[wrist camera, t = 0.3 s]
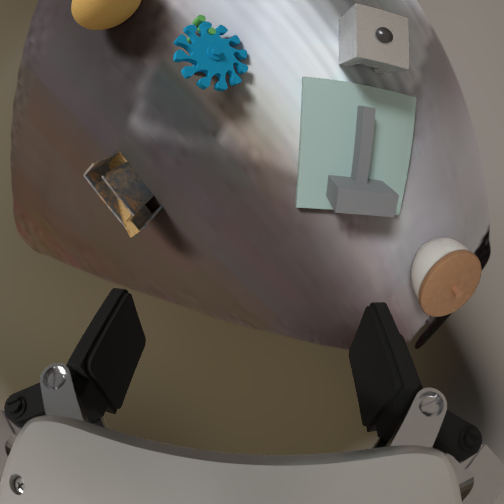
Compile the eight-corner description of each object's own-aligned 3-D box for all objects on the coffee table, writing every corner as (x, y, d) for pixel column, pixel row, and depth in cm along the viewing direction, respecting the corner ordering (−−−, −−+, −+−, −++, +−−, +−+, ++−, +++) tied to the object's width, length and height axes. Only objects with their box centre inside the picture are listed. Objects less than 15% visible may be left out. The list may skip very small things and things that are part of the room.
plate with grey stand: (302, 77, 30) (310, 71, 24) (411, 97, 29) (439, 99, 23) (295, 203, 39) (300, 226, 33) (395, 211, 39) (415, 233, 32)
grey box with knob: (338, 20, 25) (356, 2, 18) (382, 30, 25) (409, 17, 18) (338, 64, 28) (357, 56, 21) (382, 73, 28) (410, 69, 21)
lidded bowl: (401, 233, 40) (431, 271, 31) (459, 219, 38) (494, 252, 29) (399, 291, 47) (420, 333, 37) (452, 276, 44) (478, 312, 35)
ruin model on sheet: (166, 204, 41) (141, 233, 32) (152, 214, 42) (126, 244, 33) (122, 148, 36) (86, 164, 28) (109, 160, 37) (74, 179, 29)
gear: (259, 86, 30) (187, 91, 24) (231, 98, 34) (166, 108, 29) (239, 16, 26) (169, 11, 20) (215, 34, 30) (150, 35, 25)
